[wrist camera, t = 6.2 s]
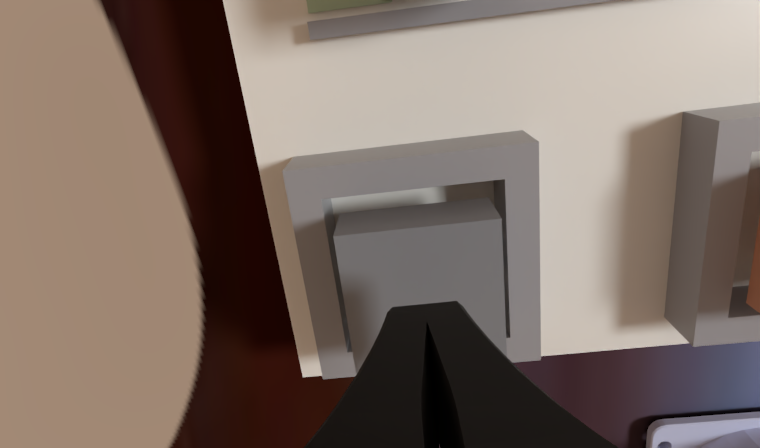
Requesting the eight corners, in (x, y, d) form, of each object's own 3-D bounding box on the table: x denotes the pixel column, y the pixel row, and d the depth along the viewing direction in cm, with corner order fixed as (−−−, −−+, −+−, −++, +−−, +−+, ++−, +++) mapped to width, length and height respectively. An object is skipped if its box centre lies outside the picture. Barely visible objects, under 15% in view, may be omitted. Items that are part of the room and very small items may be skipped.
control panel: (835, 284, 17) (962, 354, 13) (314, 333, 18) (293, 410, 14) (975, -340, 11) (1265, -526, 8) (207, -213, 12) (128, -321, 9)
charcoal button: (494, 326, 13) (507, 360, 12) (359, 338, 13) (355, 374, 12) (488, 197, 12) (501, 218, 10) (340, 213, 12) (333, 236, 11)
